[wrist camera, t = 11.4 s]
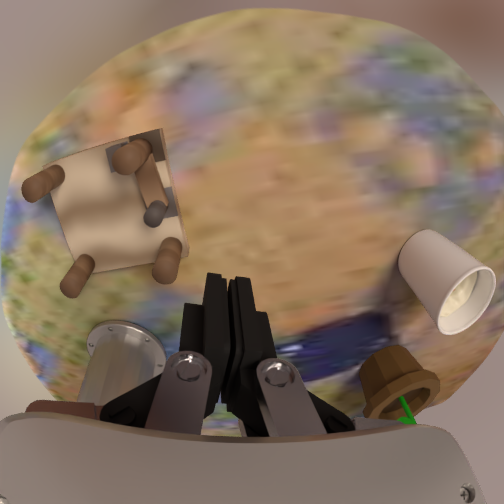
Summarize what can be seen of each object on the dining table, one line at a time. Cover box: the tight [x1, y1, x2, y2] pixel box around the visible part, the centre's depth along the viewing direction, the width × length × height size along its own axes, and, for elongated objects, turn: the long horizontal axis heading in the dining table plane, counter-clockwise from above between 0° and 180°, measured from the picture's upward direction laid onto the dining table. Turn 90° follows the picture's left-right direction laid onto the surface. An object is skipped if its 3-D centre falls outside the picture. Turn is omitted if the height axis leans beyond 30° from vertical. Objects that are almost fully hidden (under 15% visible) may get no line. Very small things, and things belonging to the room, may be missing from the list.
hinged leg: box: [112, 138, 169, 228], centre depth 26 cm, size 8×2×6 cm, turn 14°
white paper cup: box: [398, 229, 496, 335], centre depth 34 cm, size 10×10×12 cm
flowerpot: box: [359, 345, 440, 424], centre depth 37 cm, size 14×14×30 cm
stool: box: [22, 128, 189, 298], centre depth 28 cm, size 14×14×8 cm
